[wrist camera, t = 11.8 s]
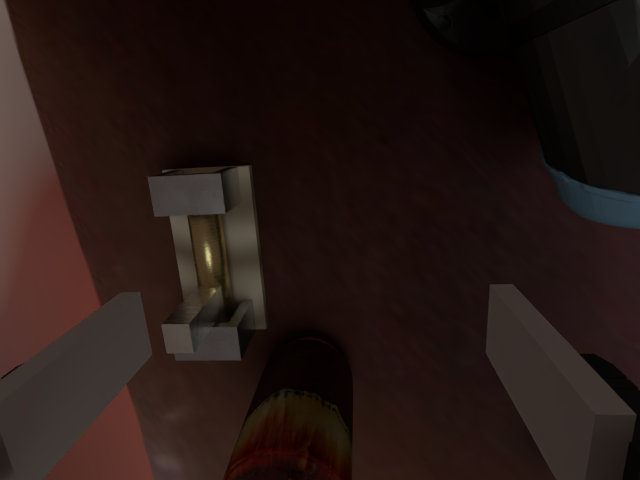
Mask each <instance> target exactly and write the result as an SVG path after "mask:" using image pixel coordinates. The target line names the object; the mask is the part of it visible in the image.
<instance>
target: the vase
mask: <svg viewBox="0 0 640 480" xmlns="http://www.w3.org/2000/svg"><path fill="white" fill-rule="evenodd" d="M352 434H353V384H352V373H351V369H350V367H349V364H348V363H347V361H346V359H345V358H344V357H343V355H342V353H341V352H340V350H339V349H338V348H337V347H336V346H335V345H334V344H333V343H332V342H330V341H329V340H327V339H325V338H323V337H319V336H315V335H303V336H298V337H295V338H293V339H291V340H289V341H288V342H286V343H285V344H284V345H282V346H281V347H280V348H278V349H277V350H276V351H275V352H274V353H273V354H272V355H271V357H270V358H269V360H268V362H267V364H266V366H265V369H264V371H263V373H262V376H261V378H260V381H259V384H258V386H257V389H256V392H255V394H254V397H253V399H252V402H251V405H250V407H249V410H248V413H247V415H246V418H245V421H244V423H243V426H242V429H241V431H240V434H239V437H238V440H237V442H236V445H235V448H234V450H233V453H232V456H231V458H230V461H229V464H228V467H227V470H226V473H225V476H224V479H223V480H352Z"/></svg>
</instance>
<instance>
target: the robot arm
mask: <svg viewBox="0 0 640 480" xmlns="http://www.w3.org/2000/svg"><path fill="white" fill-rule="evenodd" d="M613 1H614V2H613ZM611 2H612V3H611ZM412 3H413V6H414V9H415V12H416V14H417V17H418V19H419V21H420V22H421V24H422V26H423V27H424V28H425V30H426V31H427V32H428V33H429V35H430V36H431V37H432V38H433V39H435V40H436V41H437V42H438V43H439V44H441V45H442V46H444V47H445V48H447V49H449V50H451V51H453V52H456V53H459V54H462V55H467V56H473V57H487V56H494V55H499V54H503V53H506V52H508V51H511V50H512V53H513V56H514V60H515V63H516V66H517V69H518V72H519V76H520V79H521V82H522V85H523V89H524V92H525V95H526V98H527V102H528V105H529V108H530V111H531V114H532V118H533V121H534V124H535V127H536V131H537V134H538V137H539V140H540V143H541V147H542V148H541V150H540V154H541V158H542V162H543V163H544V165H545V166H546V167H547V169H548V170H549V171H550V174H551V177H552V180H553V182H554V185H555V188H556V190H557V193H558V195H559V197H560V199H561V200H562V202H563V203H565V204H566V205H567V206H568V207H569V208H570V209H571V210H573V211H574V212H575V213H576V214H578V215H580V216H582V217H584V218H587V219H589V220H592V221H595V222H599V223H602V224H607V225H612V226H618V227H626V228H636V229H640V0H617V1H616V0H412ZM609 3H610V4H609ZM607 4H608V5H607ZM605 5H606V6H605ZM603 6H604V7H603ZM600 7H601V8H600ZM598 8H599V9H598ZM596 9H597V10H596ZM594 10H595V11H594ZM592 11H593V12H592ZM589 12H591V13H589ZM587 13H589V14H587ZM585 14H586V15H585ZM583 15H584V16H583ZM581 16H582V17H581ZM579 17H580V18H579ZM576 18H578V19H576ZM574 19H576V20H574ZM572 20H573V21H572ZM570 21H571V22H570ZM568 22H569V23H568ZM566 23H567V24H566ZM563 24H565V25H563ZM561 25H563V26H561ZM559 26H561V27H559ZM557 27H558V28H557ZM555 28H556V29H555ZM553 29H554V30H553ZM550 30H552V31H550ZM548 31H550V32H548ZM546 32H548V33H546ZM544 33H545V34H544ZM542 34H543V35H542ZM540 35H541V36H540ZM538 36H539V37H538ZM536 37H537V38H536ZM534 38H535V39H534ZM486 354H487V356H488V358H489V360H490V361H491V363H492V365H493V367H494V369H495V370H496V372H497V374H498V376H499V378H500V379H501V381H502V383H503V385H504V387H505V388H506V390H507V392H508V394H509V396H510V397H511V399H512V401H513V403H514V405H515V406H516V408H517V410H518V412H519V414H520V415H521V417H522V419H523V421H524V423H525V424H526V426H527V428H528V430H529V432H530V433H531V435H532V437H533V439H534V441H535V442H536V444H537V446H538V448H539V450H540V452H541V453H542V455H543V457H544V459H545V461H546V462H547V464H548V466H549V468H550V470H551V471H552V473H553V475H554V477H555V479H556V480H640V390H638V388H637V387H636V386H635V385H634V384H633V383H632V382H631V381H630V380H627V377H626V376H625V375H624V374H623V373H622V372H621V371H620V370H619V369H617V368H616V367H615V366H614V365H613V364H611V363H610V362H608V361H606V360H604V359H602V358H601V357H599V356H597V355H595V354H578V353H577V352H576V350H575V349H574V348H573V347H572V346H571V345H570V344H569V343H568V342H567V341H566V340H565V339H564V338H563V337H562V336H561V335H560V334H559V333H558V332H557V331H556V329H555V328H554V327H553V326H552V325H551V324H550V323H549V322H548V321H547V320H546V319H545V318H544V317H543V316H542V315H541V314H540V313H539V312H538V311H537V309H536V308H535V307H534V306H533V305H532V304H531V303H530V302H529V301H528V300H527V299H526V298H525V297H524V296H523V295H522V294H521V293H520V292H519V291H518V289H517V288H516V287H515V286H514V285H513V284H498V285H490V294H489V310H488V326H487V342H486ZM151 355H152V350H151V345H150V340H149V335H148V330H147V325H146V320H145V315H144V310H143V305H142V300H141V295H140V292H121V293H120V294H118V295H117V296H115V297H114V298H113V299H111V300H110V301H109V302H107V303H106V304H104V305H103V306H102V307H100V308H99V309H98V310H96V311H95V312H94V313H92V314H91V315H89V316H88V317H87V318H85V319H84V320H83V321H81V322H80V323H79V324H77V325H76V326H74V327H73V328H72V329H70V330H69V331H67V332H66V333H65V334H63V335H62V336H61V337H59V338H58V339H57V340H55V341H54V342H52V343H51V344H50V345H48V346H47V347H46V348H44V349H43V350H41V351H40V352H39V353H37V354H36V355H35V356H33V357H32V358H30V359H29V360H28V361H26V362H25V363H23V364H21V365H19V366H17V367H15V368H14V369H13V370H11V371H10V372H8V373H7V374H6V375H5V376H3V377H2V379H1V380H0V480H43V479H44V477H45V476H46V475H47V474H48V473H49V472H50V471H51V469H52V468H53V467H54V466H55V465H56V464H57V463H58V462H59V460H60V459H61V458H62V457H63V456H64V455H65V453H66V452H67V451H68V450H69V449H70V448H71V447H72V445H73V444H74V443H75V442H76V441H77V440H78V439H79V438H80V436H81V435H82V434H83V433H84V432H85V431H86V430H87V428H88V427H89V426H90V425H91V424H92V423H93V422H94V420H95V419H96V418H97V417H98V416H99V415H100V413H101V412H102V411H103V410H104V409H105V408H106V406H107V405H108V404H109V403H110V402H111V401H112V400H113V399H114V398H115V396H116V395H117V394H118V393H119V392H120V391H121V389H122V388H123V387H124V386H125V385H126V384H127V383H128V382H129V380H130V379H131V378H132V377H133V376H134V375H135V374H136V372H137V371H138V370H139V369H140V368H141V367H142V366H143V364H144V363H145V362H146V361H147V360H148V359H149V358H150V356H151Z"/></svg>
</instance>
